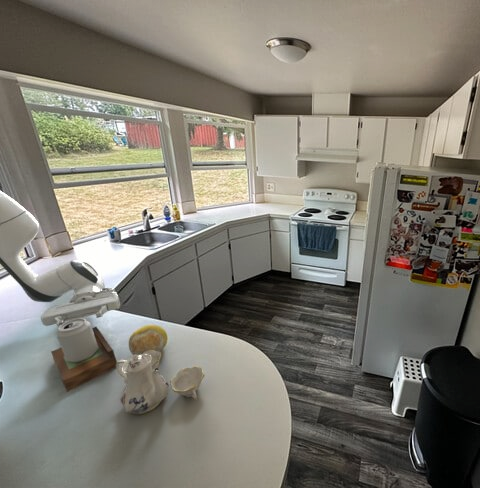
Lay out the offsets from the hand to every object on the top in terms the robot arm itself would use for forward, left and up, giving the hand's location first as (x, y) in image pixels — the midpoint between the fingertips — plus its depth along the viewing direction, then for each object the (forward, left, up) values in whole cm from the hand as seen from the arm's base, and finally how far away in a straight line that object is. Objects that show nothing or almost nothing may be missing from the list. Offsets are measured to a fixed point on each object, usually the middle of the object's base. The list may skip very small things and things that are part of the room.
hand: (80, 320), depth 83 cm
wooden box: (-3, -7, -12) cm, 14 cm away
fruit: (+12, -18, -12) cm, 25 cm away
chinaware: (+7, -36, -12) cm, 39 cm away
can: (-3, -8, -8) cm, 12 cm away
